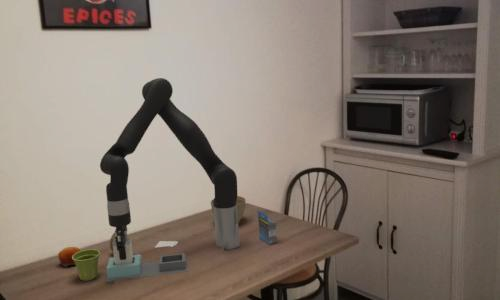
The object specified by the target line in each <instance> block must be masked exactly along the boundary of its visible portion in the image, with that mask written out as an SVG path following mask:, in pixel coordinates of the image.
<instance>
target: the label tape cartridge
mask: <svg viewBox="0 0 500 300" xmlns="http://www.w3.org/2000/svg"><path fill="white" fill-rule="evenodd" d="M257 218H258V233H259V234H258V235H259V237H258V238H259V239H261V240H262V241H263V242H265V244H268V245H272V244H273V245H274V244H277V224H276V223H275V222H273V221H272V220H270V219H269V217H268V215H267V214H265V213H263V212H262V211H260V210H257Z"/></svg>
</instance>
